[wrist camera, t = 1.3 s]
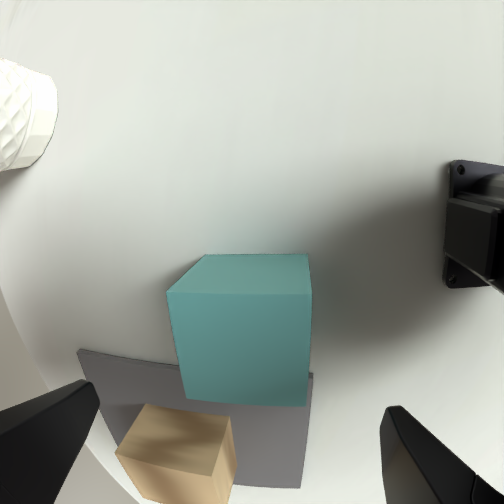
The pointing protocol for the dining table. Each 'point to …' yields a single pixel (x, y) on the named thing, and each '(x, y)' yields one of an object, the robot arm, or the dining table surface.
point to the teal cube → (244, 328)
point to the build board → (241, 416)
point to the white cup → (25, 114)
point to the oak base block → (179, 456)
